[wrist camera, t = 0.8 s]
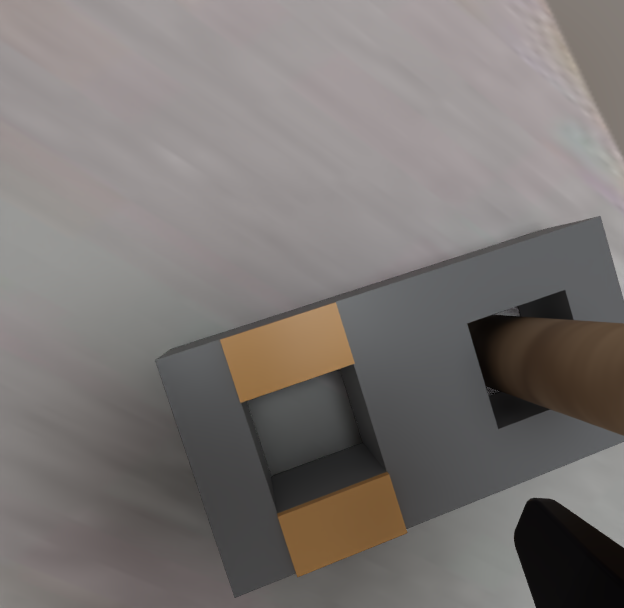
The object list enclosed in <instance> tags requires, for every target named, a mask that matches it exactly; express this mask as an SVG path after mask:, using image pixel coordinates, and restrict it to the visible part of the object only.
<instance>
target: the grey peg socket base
mask: <svg viewBox="0 0 624 608" xmlns="http://www.w3.org/2000/svg"><path fill="white" fill-rule="evenodd" d="M516 306H518V308H519V311H520V315H521V317H534V318H549V319H564V320H580V321H595V322H610V323H624V300H623V296H622V292H621V289H620V285H619V282H618V278H617V274H616V271H615V267H614V263H613V260H612V256H611V253H610V249H609V245H608V242H607V238H606V234H605V231H604V227H603V223H602V220H601V216H599V217H595V218H590V219H586V220H582V221H577V222H573V223H569V224H564V225H560V226H555V227H551V228H547V229H543V230H540V231H537V232H533V233H530V234H527V235H524V236H521V237H518V238H515V239H512V240H509V241H506V242H502V243H499V244H496V245H493V246H490V247H487V248H484V249H481V250H478V251H474V252H471V253H468V254H465V255H462V256H459V257H456V258H453V259H450V260H446V261H443V262H440V263H437V264H434V265H431V266H428V267H425V268H422V269H419V270H415V271H412V272H409V273H406V274H403V275H400V276H397V277H394V278H391V279H387V280H384V281H381V282H378V283H375V284H372V285H369V286H366V287H363V288H359V289H356V290H353V291H350V292H347V293H344V294H341V295H338V296H335V297H332V298H328V299H325V300H322V301H319V302H316V303H313V304H310V305H307V306H304V307H300V308H297V309H294V310H291V311H288V312H285V313H282V314H279V315H276V316H272V317H269V318H266V319H263V320H260V321H257V322H254V323H251V324H248V325H245V326H241V327H238V328H235V329H232V330H229V331H226V332H223V333H220V334H217V335H213V336H210V337H207V338H204V339H201V340H198V341H195V342H192V343H189V344H186V345H182V346H179V347H176V348H173V349H170V350H169V351H167V352H166V353H165V354H163V355H162V356H160V357H159V358H158V359H156V360H155V361H156V364H157V367H158V370H159V373H160V376H161V379H162V382H163V385H164V388H165V391H166V394H167V397H168V400H169V403H170V406H171V409H172V412H173V415H174V418H175V421H176V424H177V427H178V430H179V433H180V436H181V439H182V442H183V445H184V448H185V451H186V454H187V457H188V460H189V463H190V466H191V469H192V472H193V475H194V478H195V481H196V484H197V487H198V490H199V493H200V496H201V499H202V502H203V505H204V508H205V511H206V514H207V517H208V520H209V523H210V526H211V529H212V532H213V535H214V538H215V541H216V544H217V546H218V549H219V552H220V555H221V558H222V561H223V564H224V567H225V570H226V573H227V576H228V579H229V582H230V585H231V588H232V591H233V594H234V597H235V598H236V597H238V596H241V595H243V594H246V593H248V592H251V591H253V590H256V589H258V588H261V587H263V586H266V585H268V584H271V583H273V582H276V581H278V580H281V579H283V578H286V577H288V576H291V575H293V574H297V577H300V576H302V575H305V574H307V573H310V572H312V571H315V570H317V569H319V568H322V567H324V566H327V565H329V564H332V563H334V562H337V561H339V560H342V559H344V558H347V557H349V556H352V555H354V554H357V553H359V552H362V551H364V550H367V549H369V548H372V547H374V546H377V545H379V544H382V543H384V542H386V541H389V540H391V539H394V538H396V537H399V536H401V535H404V534H406V533H407V530H406V529H408V528H410V527H413V526H415V525H418V524H420V523H423V522H425V521H428V520H430V519H433V518H435V517H438V516H440V515H442V514H445V513H447V512H450V511H452V510H455V509H457V508H460V507H462V506H465V505H467V504H470V503H472V502H475V501H477V500H480V499H482V498H485V497H487V496H490V495H492V494H495V493H497V492H500V491H502V490H505V489H507V488H510V487H512V486H515V485H517V484H520V483H522V482H525V481H527V480H530V479H532V478H535V477H537V476H540V475H542V474H545V473H547V472H550V471H552V470H555V469H557V468H560V467H562V466H565V465H567V464H570V463H572V462H575V461H577V460H579V459H582V458H584V457H587V456H589V455H592V454H594V453H597V452H599V451H602V450H604V449H607V448H609V447H612V446H614V445H617V444H619V443H622V442H624V436H623V435H620V434H617V433H614V432H612V431H609V430H606V429H603V428H601V427H598V426H595V425H592V424H589V423H587V422H584V421H581V420H578V419H576V418H573V417H570V416H567V415H564V414H562V413H559V412H556V411H553V410H551V409H548V408H545V407H542V406H539V405H537V404H534V403H531V402H528V401H526V400H523V399H520V398H517V397H514V396H512V395H509V394H506V393H503V392H499V393H496V394H493V395H491V396H488V393H487V389H486V386H485V383H484V379H483V376H482V373H481V369H480V366H479V362H478V359H477V356H476V352H475V349H474V345H473V342H472V339H471V335H470V332H469V329H468V325H467V323H470V322H473V321H476V320H478V319H481V318H484V317H487V316H490V315H493V314H496V313H499V312H502V311H505V310H508V309H510V308H513V307H516ZM338 369H340V371H341V374H342V378H343V381H344V384H345V387H346V390H347V394H348V397H349V400H350V403H351V406H352V410H353V413H354V416H355V419H356V422H357V426H358V429H359V432H360V435H361V438H362V442H363V443H361V444H358V445H355V446H353V447H350V448H347V449H345V450H342V451H339V452H337V453H334V454H331V455H328V456H326V457H323V458H320V459H318V460H315V461H312V462H309V463H307V464H304V465H301V466H299V467H296V468H293V469H291V470H288V471H285V472H282V473H280V474H277V475H274V476H272V477H271V475H270V472H269V468H268V465H267V462H266V459H265V456H264V453H263V450H262V447H261V444H260V441H259V438H258V435H257V432H256V429H255V425H254V422H253V419H252V416H251V413H250V410H249V407H248V404H247V401H248V400H251V399H254V398H256V397H259V396H262V395H265V394H268V393H271V392H274V391H277V390H280V389H283V388H285V387H288V386H291V385H294V384H297V383H300V382H303V381H306V380H309V379H312V378H314V377H317V376H320V375H323V374H326V373H329V372H332V371H335V370H338Z"/></svg>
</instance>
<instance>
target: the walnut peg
mask: <svg viewBox="0 0 624 608" xmlns="http://www.w3.org/2000/svg"><path fill="white" fill-rule="evenodd" d="M467 325H468V329H469V332H470V335H471V339H472V342H473V345H474V349H475V352H476V356H477V359H478V362H479V366H480V369H481V373H482V376H483V379H484V383H485V386H487V387H490V388H492V389H495V390H498V391H501V392H503V393H506V394H509V395H512V396H514V397H517V398H520V399H523V400H526V401H528V402H531V403H534V404H537V405H539V406H542V407H545V408H548V409H551V410H553V411H556V412H559V413H562V414H564V415H567V416H570V417H573V418H576V419H578V420H581V421H584V422H587V423H589V424H592V425H595V426H598V427H601V428H603V429H606V430H609V431H612V432H614V433H617V434H620V435H623V436H624V323H610V322H595V321H580V320H564V319H549V318H534V317H519V316H503V315H490V316H487V317H484V318H481V319H478V320H476V321H473V322H470V323H467Z"/></svg>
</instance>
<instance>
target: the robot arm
mask: <svg viewBox="0 0 624 608" xmlns="http://www.w3.org/2000/svg"><path fill="white" fill-rule="evenodd" d="M514 543H515V547H516V550H517V553H518V556H519V559H520V562H521V565H522V568H523V571H524V574H525V577H526V580H527V583H528V586H529V588H530V591H531V594H532V597H533V600H534V603H535V606H536V608H624V548H623V547H622V546H620V545H619V544H617V543H616V542H614V541H613V540H612V539H610V538H609V537H607V536H606V535H604V534H603V533H601V532H600V531H599V530H597V529H596V528H594V527H593V526H591V525H590V524H588V523H587V522H586V521H584V520H583V519H581V518H580V517H578V516H577V515H575V514H574V513H573V512H571V511H570V510H568V509H567V508H565V507H564V506H562V505H561V504H559V503H558V502H557V501H555V500H552V499H545V498H531V499H530V500H528V501H527V503H526V505H525V507H524V510H523V512H522V514H521V517H520V519H519V522H518V524H517V527H516V529H515V532H514Z"/></svg>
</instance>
